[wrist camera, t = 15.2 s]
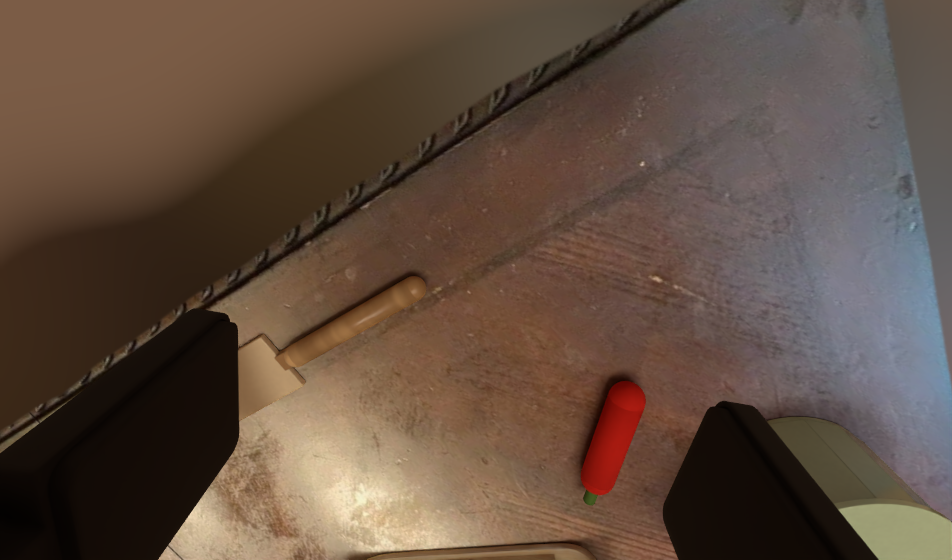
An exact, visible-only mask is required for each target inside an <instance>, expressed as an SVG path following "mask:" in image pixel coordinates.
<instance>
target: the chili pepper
mask: <svg viewBox="0 0 952 560" xmlns="http://www.w3.org/2000/svg"><path fill="white" fill-rule="evenodd" d="M645 403H646V399H645V394H644V392H643V390H642V389H641V388H640V387H639V386H638V385H637V384H635V383H633V382H630V381H621V382H618V383H616V384H615V385H613V386H612V387H611V389H610V391H609V393H608V396H607V398H606V401H605V404H604V407H603V410H602V413H601V416H600V418H599V421H598V424H597V427H596V430H595V433H594V436H593V438H592V441H591V444H590V447H589V450H588V453H587V456H586V458H585V461H584V464H583V467H582V470H581V481H582V483H583V485H584V487H585V488H586V492H585V495H584V497H583V500H584V502H585V503H586V504H587V505H594V504H595V501H596V498H597V496H598V495H604V494H606V493H608V492H609V491H611V490H612V488H613V486H614V484H615V481H616V479H617V476H618V474H619V471H620V469H621V466H622V464H623V461H624V459H625V456H626V453H627V451H628V448H629V446H630V443H631V441H632V438H633V436H634V433H635V431H636V428H637V425H638V423H639V420H640V418H641V415H642V413H643V410H644V408H645Z"/></svg>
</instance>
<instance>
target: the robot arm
mask: <svg viewBox="0 0 952 560" xmlns="http://www.w3.org/2000/svg"><path fill="white" fill-rule="evenodd" d="M238 438H239V375H238V328H237V325H236V324H235V323H233V322H230V319H229V317H228V315H227V314H225V313H220V312H214V311H208V310H203V309H191V310H190V311H188V312H187V313H185V314H184V315H183V316H181V317H180V318H179V319H178V320H176V321H175V322H174V323H172V324H171V325H170V326H168V327H167V328H166V329H164V330H163V331H162V332H160V333H159V334H158V335H156V336H155V337H154V338H152V339H151V340H150V341H148V342H147V343H146V344H144V345H143V346H142V347H140V348H139V349H138V350H136V351H135V352H134V353H132V354H131V355H130V356H128V357H127V358H126V359H124V360H123V361H122V362H120V363H119V364H118V365H117V366H115V367H114V368H113V369H111V370H110V371H109V372H107V373H106V374H105V375H103V376H102V377H101V378H99V379H98V380H97V381H95V382H94V383H93V384H91V385H90V386H89V387H87V388H86V389H85V390H83V391H82V392H81V393H79V394H78V395H77V396H75V397H74V398H73V399H71V400H70V401H69V402H67V403H66V404H65V405H63V406H62V407H61V408H60V409H58V410H57V411H56V412H54V413H53V414H52V415H50V416H49V417H48V418H46V419H45V420H44V421H42V422H41V423H40V424H38V425H37V426H36V427H34V428H33V429H32V430H30V431H29V432H28V433H26V434H25V435H24V436H22V437H21V438H20V439H18V440H17V441H16V442H14V443H13V444H12V445H10V446H9V447H8V448H6V449H5V450H4V451H3V452H1V453H0V560H158V559H159V557H160V556H161V555H162V553H163V552H164V550H165V549H166V547H167V546H168V545H169V543H170V542H171V540H172V539H173V537H174V536H175V535H176V533H177V532H178V530H179V529H180V527H181V526H182V525H183V523H184V522H185V520H186V519H187V517H188V516H189V515H190V513H191V512H192V510H193V509H194V507H195V506H196V505H197V503H198V502H199V500H200V499H201V497H202V496H203V495H204V493H205V492H206V490H207V489H208V487H209V486H210V485H211V483H212V482H213V480H214V479H215V477H216V476H217V475H218V473H219V472H220V470H221V469H222V467H223V466H224V465H225V463H226V462H227V460H228V459H229V457H230V456H231V455H232V453H233V451H234V450H235V447H236V445H237V442H238ZM663 520H664V523H665V526H666V529H667V531H668V534H669V536H670V539H671V542H672V544H673V547H674V549H675V552H676V554H677V557H678V559H679V560H879V559H878V558H877V557H876V556H875V554H874V553H873V552H872V551H871V549H870V548H869V547H868V546H867V544H866V543H865V542H864V541H863V539H862V538H861V537H860V536H859V535H858V533H857V532H856V531H855V530H854V528H853V527H852V526H851V525H850V523H849V522H848V521H847V520H846V518H845V517H844V516H843V515H842V514H841V512H840V511H839V510H838V509H837V507H836V506H835V505H834V504H833V502H832V501H831V500H830V499H829V497H828V496H827V495H826V494H825V493H824V491H823V490H822V489H821V488H820V486H819V485H818V484H817V483H816V481H815V480H814V479H813V478H812V476H811V475H810V474H809V473H808V472H807V470H806V469H805V468H804V467H803V465H802V464H801V463H800V462H799V460H798V459H797V458H796V457H795V456H794V454H793V453H792V452H791V451H790V449H789V448H788V447H787V446H786V444H785V443H784V442H783V441H782V439H781V438H780V437H779V436H778V435H777V433H776V432H775V431H774V430H773V428H772V427H771V426H770V425H769V423H768V422H767V421H766V420H765V418H764V417H763V416H762V415H761V414H760V412H759V411H758V410H757V409H756V408H755V407H753V406H750V405H745V404H739V403H733V402H727V401H721V402H719V403H718V404H717V405H716V406H715V407H714V406H713V407H710V408H709V409H708V410H707V412H706V414H705V416H704V418H703V420H702V422H701V424H700V427H699V429H698V431H697V433H696V435H695V437H694V440H693V442H692V444H691V446H690V448H689V450H688V453H687V455H686V457H685V459H684V461H683V463H682V466H681V468H680V470H679V472H678V474H677V476H676V479H675V481H674V483H673V485H672V487H671V490H670V492H669V494H668V496H667V498H666V500H665V503H664V506H663Z"/></svg>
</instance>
